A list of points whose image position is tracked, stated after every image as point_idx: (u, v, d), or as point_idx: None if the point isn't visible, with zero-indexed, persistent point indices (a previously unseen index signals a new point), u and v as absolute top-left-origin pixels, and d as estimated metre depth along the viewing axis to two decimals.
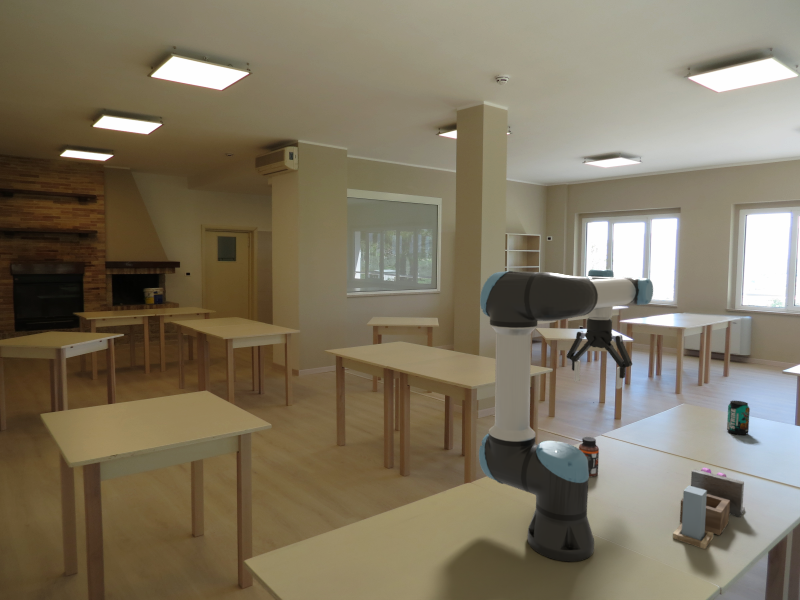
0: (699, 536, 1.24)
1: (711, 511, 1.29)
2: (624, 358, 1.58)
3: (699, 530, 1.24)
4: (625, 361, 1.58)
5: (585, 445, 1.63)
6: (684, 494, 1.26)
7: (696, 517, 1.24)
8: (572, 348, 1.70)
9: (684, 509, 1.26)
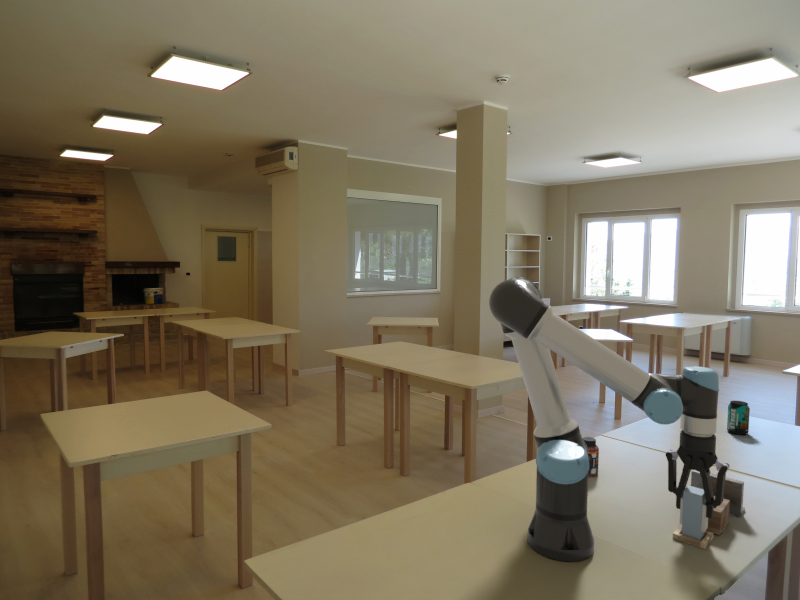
0: (699, 536, 1.24)
1: None
2: (718, 494, 1.21)
3: (699, 530, 1.24)
4: (717, 498, 1.22)
5: None
6: (684, 494, 1.26)
7: (696, 517, 1.24)
8: (670, 476, 1.29)
9: (684, 509, 1.26)
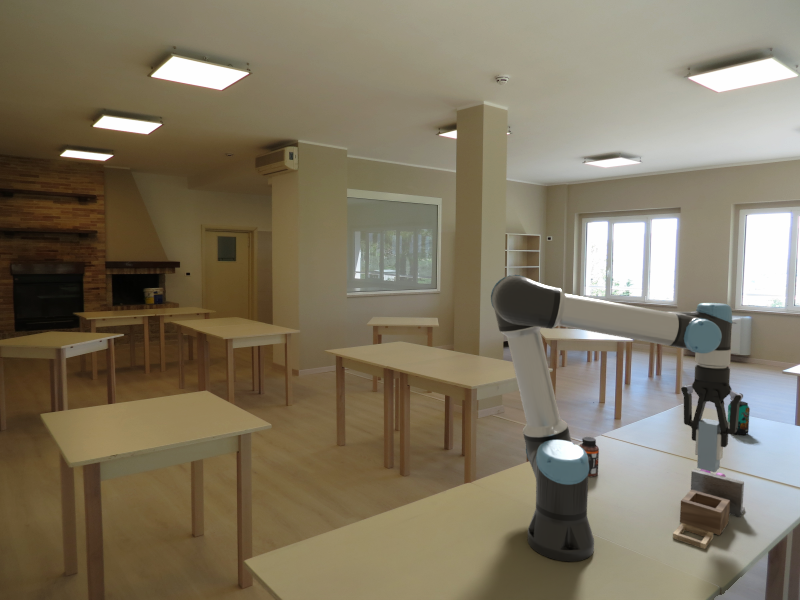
0: (714, 464, 1.30)
1: (711, 511, 1.29)
2: (732, 423, 1.27)
3: (714, 459, 1.29)
4: (731, 426, 1.27)
5: (585, 445, 1.63)
6: (699, 425, 1.31)
7: (711, 447, 1.30)
8: (686, 410, 1.34)
9: (699, 440, 1.31)
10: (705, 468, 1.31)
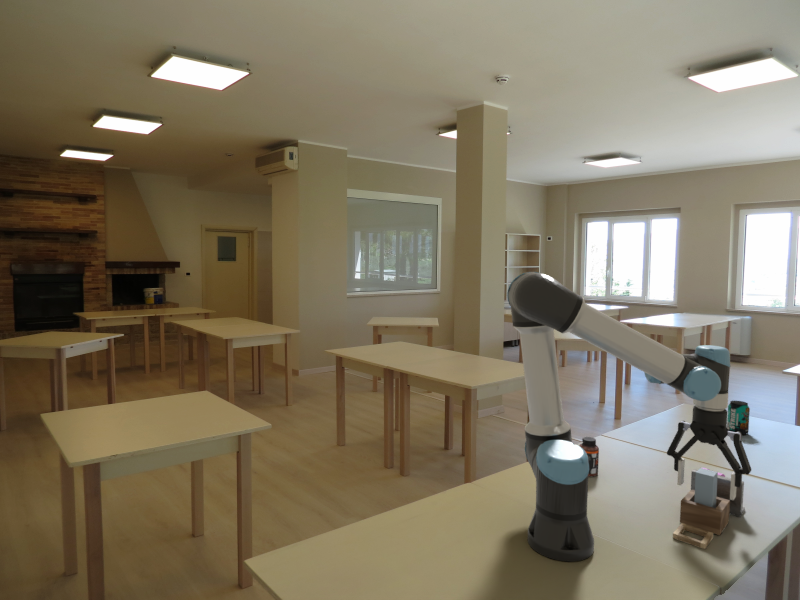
0: None
1: (711, 511, 1.29)
2: (743, 463, 1.26)
3: None
4: (744, 467, 1.26)
5: (585, 445, 1.63)
6: (696, 475, 1.33)
7: (707, 497, 1.31)
8: (674, 443, 1.37)
9: (696, 490, 1.33)
10: None
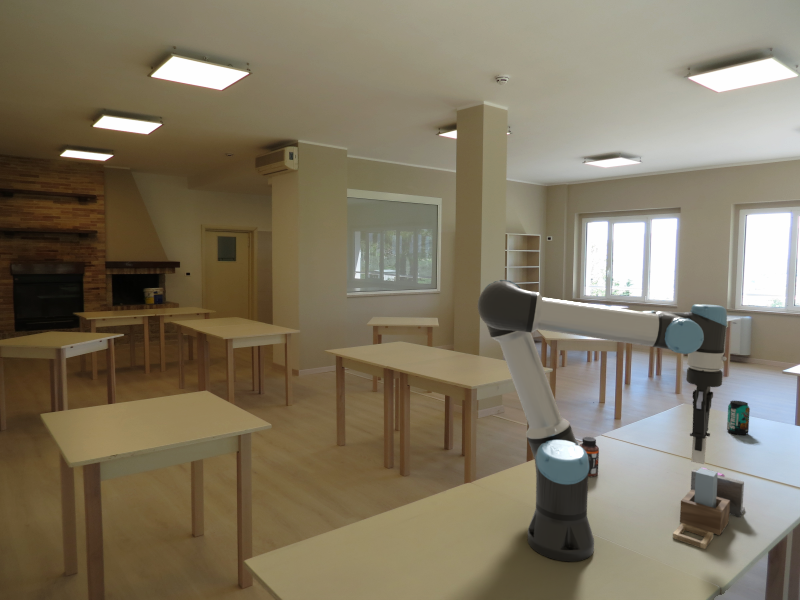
0: None
1: (711, 511, 1.29)
2: (693, 425, 1.26)
3: None
4: None
5: (585, 445, 1.63)
6: (696, 475, 1.33)
7: (707, 497, 1.31)
8: None
9: (696, 490, 1.33)
10: None
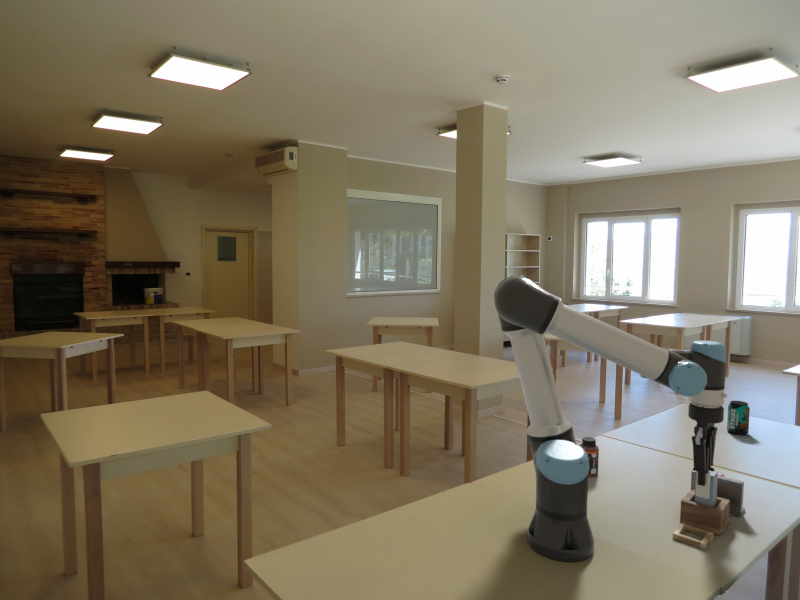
0: None
1: (711, 511, 1.29)
2: None
3: None
4: None
5: (585, 445, 1.63)
6: None
7: None
8: None
9: None
10: None
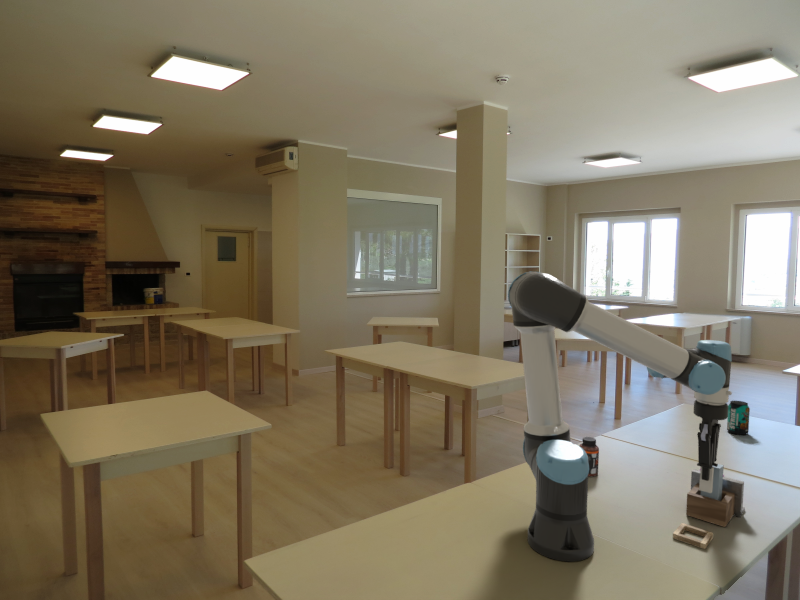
0: None
1: (717, 504, 1.33)
2: None
3: None
4: None
5: (585, 445, 1.63)
6: None
7: (713, 489, 1.35)
8: None
9: None
10: None
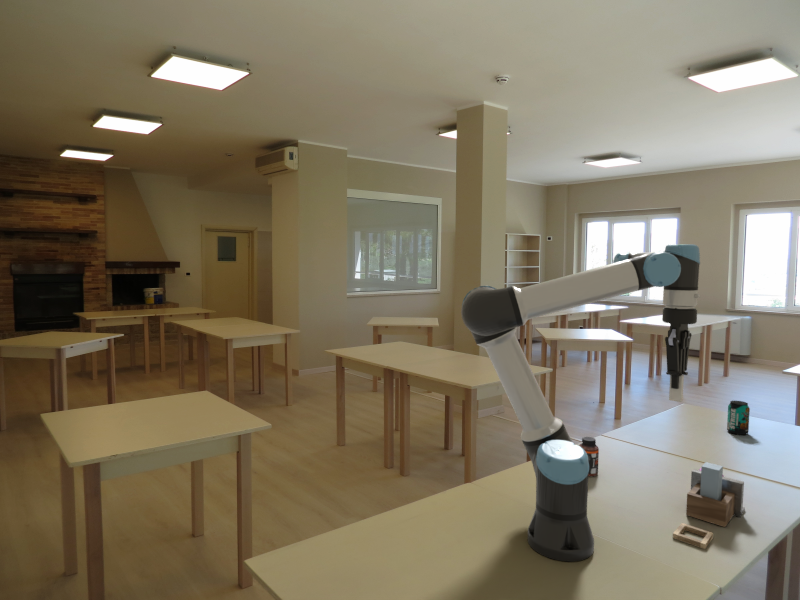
0: None
1: (717, 504, 1.33)
2: None
3: None
4: None
5: (585, 445, 1.63)
6: (702, 469, 1.37)
7: (713, 491, 1.35)
8: None
9: (702, 483, 1.37)
10: None
